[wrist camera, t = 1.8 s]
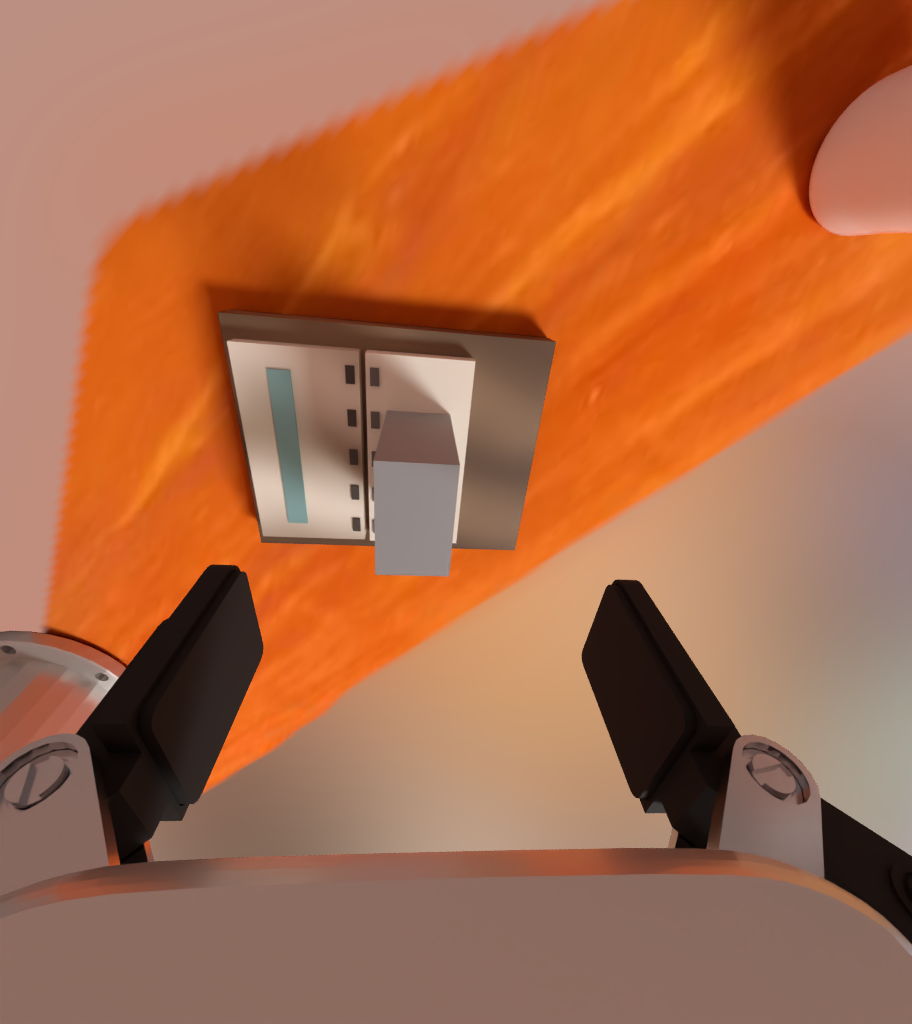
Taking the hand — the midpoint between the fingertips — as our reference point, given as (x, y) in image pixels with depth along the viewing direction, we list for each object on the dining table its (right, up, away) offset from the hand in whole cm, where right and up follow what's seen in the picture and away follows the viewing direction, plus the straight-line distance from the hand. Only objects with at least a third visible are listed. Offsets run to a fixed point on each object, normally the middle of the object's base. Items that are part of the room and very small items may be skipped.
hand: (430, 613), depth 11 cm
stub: (-1, +6, +10) cm, 12 cm away
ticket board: (-3, +7, +12) cm, 14 cm away
